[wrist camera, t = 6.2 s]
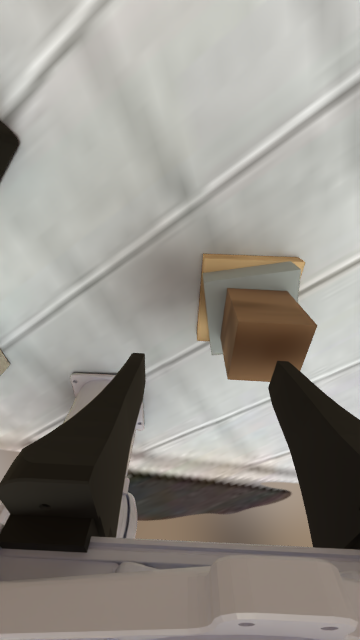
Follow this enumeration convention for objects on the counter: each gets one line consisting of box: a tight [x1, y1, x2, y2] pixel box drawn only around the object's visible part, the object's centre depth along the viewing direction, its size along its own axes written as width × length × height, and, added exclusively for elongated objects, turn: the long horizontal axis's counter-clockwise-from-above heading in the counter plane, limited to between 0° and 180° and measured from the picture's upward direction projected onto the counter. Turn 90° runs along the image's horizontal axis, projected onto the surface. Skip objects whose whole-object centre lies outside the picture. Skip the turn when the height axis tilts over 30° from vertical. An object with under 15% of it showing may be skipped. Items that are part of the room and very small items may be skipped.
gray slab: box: [203, 261, 301, 355], centre depth 20 cm, size 7×7×2 cm
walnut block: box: [220, 288, 317, 382], centre depth 17 cm, size 4×4×5 cm
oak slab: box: [197, 254, 305, 341], centre depth 22 cm, size 8×8×2 cm
